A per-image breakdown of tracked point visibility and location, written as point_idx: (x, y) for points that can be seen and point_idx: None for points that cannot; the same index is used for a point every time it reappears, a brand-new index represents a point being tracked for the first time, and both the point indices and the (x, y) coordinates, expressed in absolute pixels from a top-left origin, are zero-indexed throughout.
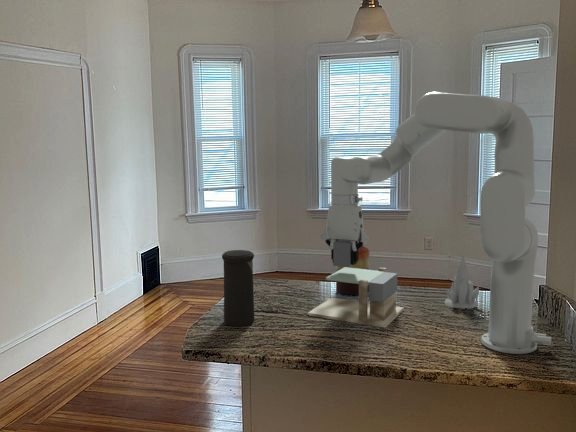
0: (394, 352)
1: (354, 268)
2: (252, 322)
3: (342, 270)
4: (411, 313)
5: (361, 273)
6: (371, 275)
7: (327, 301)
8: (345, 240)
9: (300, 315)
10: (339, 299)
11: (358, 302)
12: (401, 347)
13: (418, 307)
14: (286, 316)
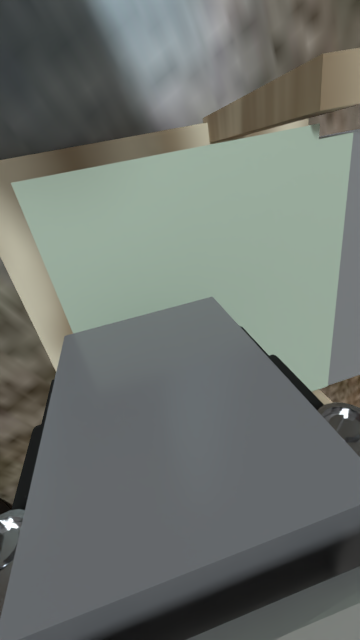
0: (343, 402)
1: (117, 178)
2: (7, 506)
3: (86, 297)
4: (333, 131)
5: (237, 281)
6: (305, 282)
7: (4, 242)
8: (221, 619)
9: (46, 393)
10: (18, 175)
11: (121, 161)
12: (350, 378)
13: (346, 15)
14: (22, 424)
